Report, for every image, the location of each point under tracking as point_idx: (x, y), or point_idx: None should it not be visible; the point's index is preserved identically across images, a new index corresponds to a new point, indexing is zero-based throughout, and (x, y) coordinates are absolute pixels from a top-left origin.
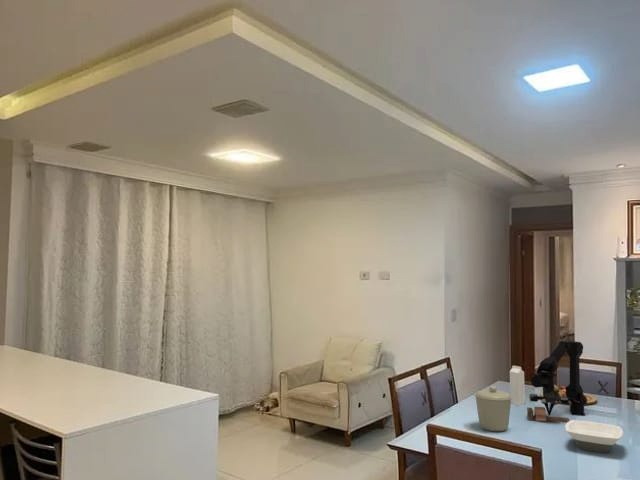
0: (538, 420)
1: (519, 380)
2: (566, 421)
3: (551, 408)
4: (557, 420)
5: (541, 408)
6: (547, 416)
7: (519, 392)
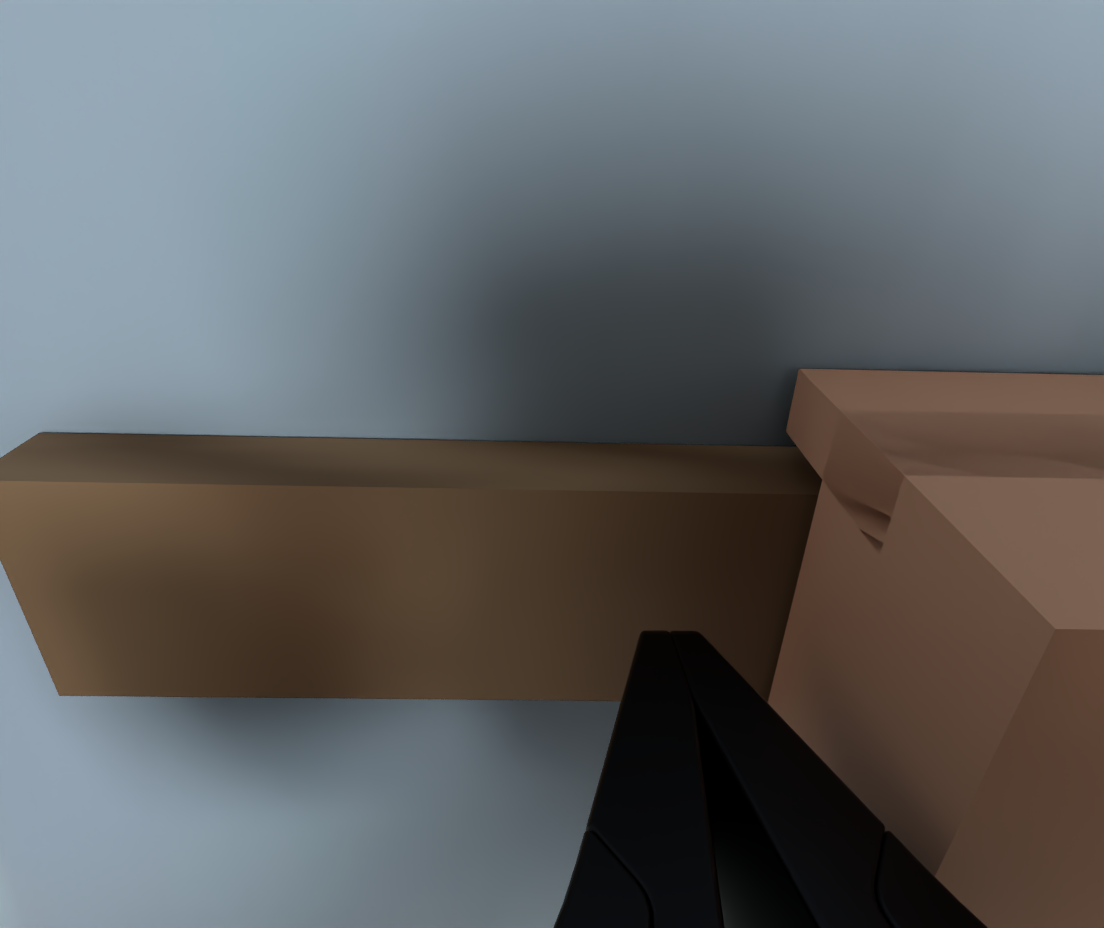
0: (1051, 377)
1: None
2: (118, 449)
3: (634, 897)
4: (410, 459)
5: (1101, 905)
6: None
7: None
